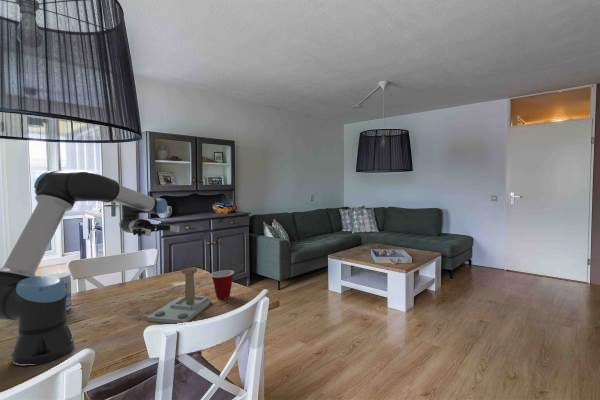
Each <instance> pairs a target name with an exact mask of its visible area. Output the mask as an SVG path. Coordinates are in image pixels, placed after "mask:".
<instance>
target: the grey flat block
mask: <svg viewBox="0 0 600 400" xmlns="http://www.w3.org/2000/svg"><path fill="white" fill-rule="evenodd" d="M212 300H213V299H209V296H204V295H194V303H193V304H186V298H185V295H184V296H178V297H177V298H175V299H173V300H171V302H168V303H167V304H165V305H164V306H162V307H161V308H159V309H157V310H155V311H154V312H152V313H151V314H150V315H148V316H146V321H147V322H155V323H157V322H158V323H166V324H174V323H183V322H187V323H188V322H190V321H191V320H192V319H193V318H194V317H196V316H197V315H198V314H200V313H201V312H202V311H203V310H204V309H206V308H207V307H209V306H210V305H211V304H212V303H213V302H212ZM210 303H211V304H210ZM209 304H210V305H209Z"/></svg>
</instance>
